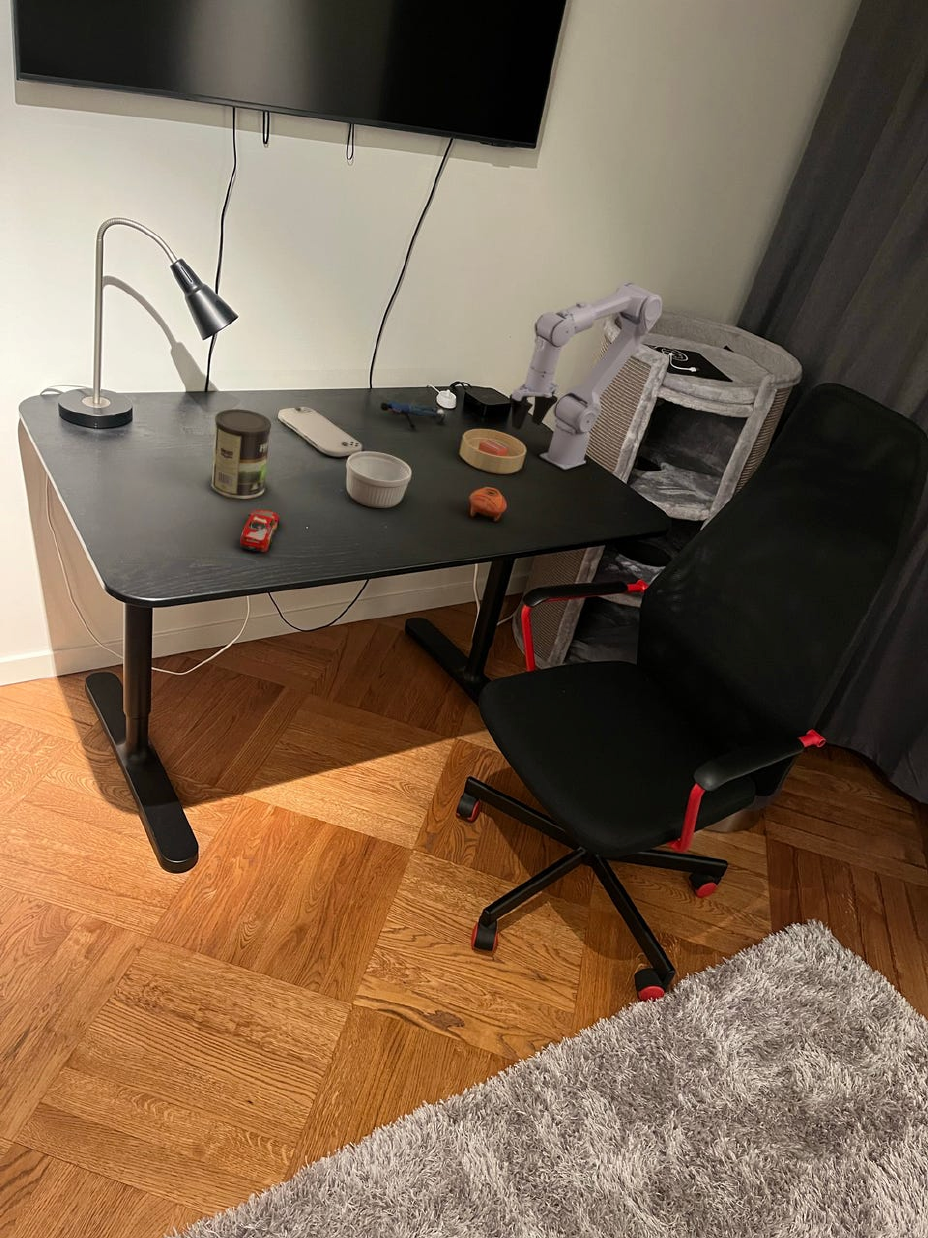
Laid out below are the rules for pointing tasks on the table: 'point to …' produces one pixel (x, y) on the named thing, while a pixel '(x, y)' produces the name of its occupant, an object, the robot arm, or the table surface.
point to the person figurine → (413, 411)
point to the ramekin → (377, 479)
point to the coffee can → (240, 453)
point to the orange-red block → (493, 448)
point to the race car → (259, 530)
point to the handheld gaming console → (319, 432)
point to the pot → (487, 502)
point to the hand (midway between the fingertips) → (526, 425)
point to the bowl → (490, 461)
